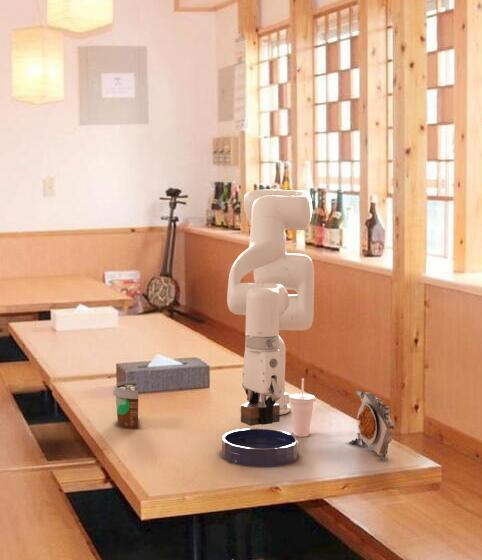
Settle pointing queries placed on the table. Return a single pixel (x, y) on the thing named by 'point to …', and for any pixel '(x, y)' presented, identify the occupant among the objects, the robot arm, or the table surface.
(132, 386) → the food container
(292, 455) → the bowl
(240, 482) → the table surface
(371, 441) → the meal
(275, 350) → the robot arm
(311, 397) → the smoothie
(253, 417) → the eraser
